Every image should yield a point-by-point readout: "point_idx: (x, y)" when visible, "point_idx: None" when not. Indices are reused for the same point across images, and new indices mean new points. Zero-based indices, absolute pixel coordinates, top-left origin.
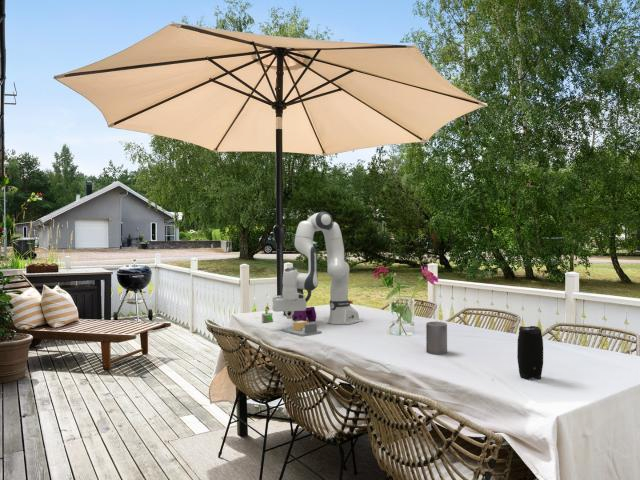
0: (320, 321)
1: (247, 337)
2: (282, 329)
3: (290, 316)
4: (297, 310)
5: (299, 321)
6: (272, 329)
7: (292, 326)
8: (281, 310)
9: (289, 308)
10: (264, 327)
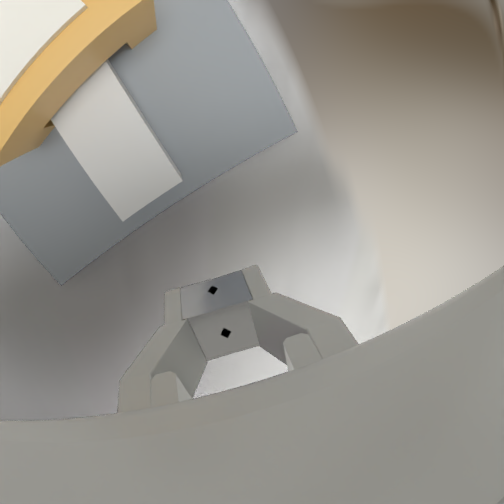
0: None
1: (494, 19)
2: (291, 121)
3: (198, 306)
4: (28, 425)
5: (26, 20)
6: (355, 240)
7: (157, 155)
8: (491, 292)
9: (294, 455)
10: (379, 314)
